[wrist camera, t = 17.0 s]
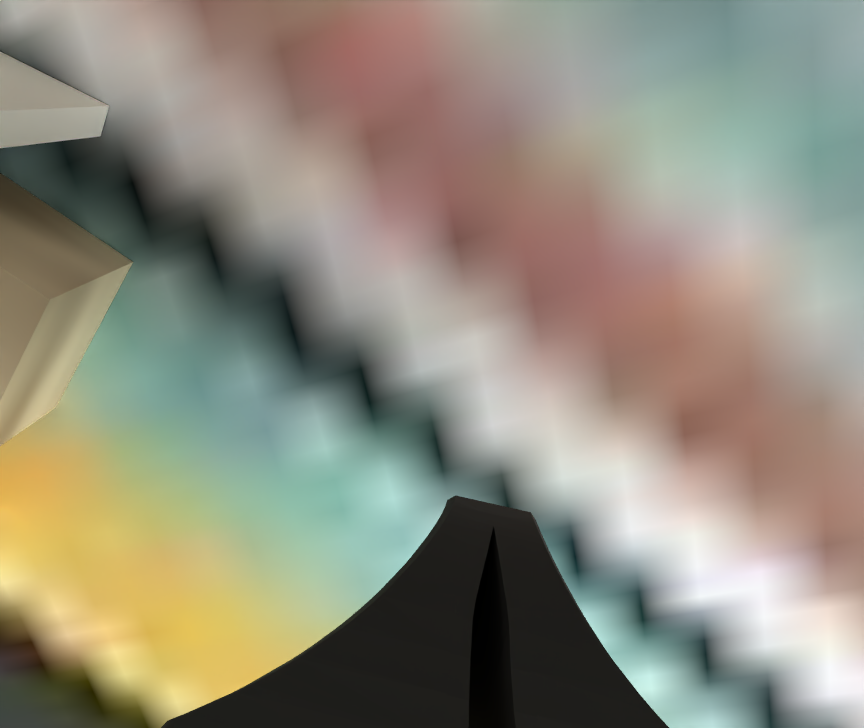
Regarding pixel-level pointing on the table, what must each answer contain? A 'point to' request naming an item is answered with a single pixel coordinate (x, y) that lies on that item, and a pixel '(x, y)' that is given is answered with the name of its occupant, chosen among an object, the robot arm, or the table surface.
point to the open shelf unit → (43, 108)
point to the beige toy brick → (46, 303)
